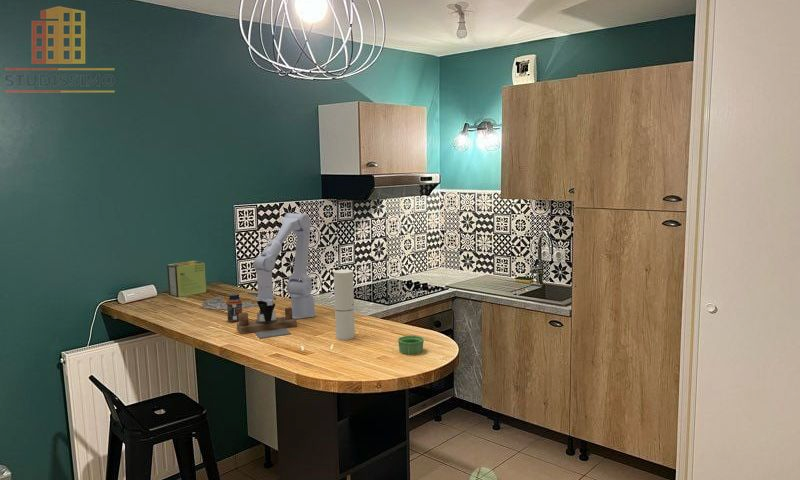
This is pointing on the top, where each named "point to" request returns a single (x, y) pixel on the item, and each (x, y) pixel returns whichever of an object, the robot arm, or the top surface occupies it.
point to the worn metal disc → (218, 304)
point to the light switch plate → (261, 316)
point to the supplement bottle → (234, 307)
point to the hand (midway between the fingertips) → (266, 319)
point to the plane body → (265, 323)
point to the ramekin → (411, 344)
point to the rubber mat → (272, 333)
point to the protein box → (186, 278)
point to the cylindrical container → (344, 304)
